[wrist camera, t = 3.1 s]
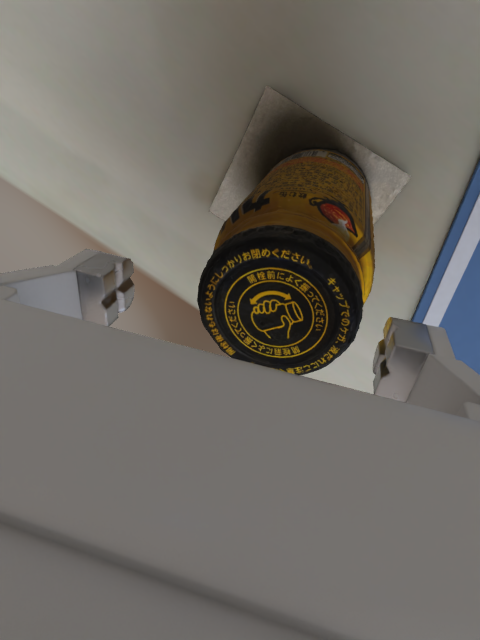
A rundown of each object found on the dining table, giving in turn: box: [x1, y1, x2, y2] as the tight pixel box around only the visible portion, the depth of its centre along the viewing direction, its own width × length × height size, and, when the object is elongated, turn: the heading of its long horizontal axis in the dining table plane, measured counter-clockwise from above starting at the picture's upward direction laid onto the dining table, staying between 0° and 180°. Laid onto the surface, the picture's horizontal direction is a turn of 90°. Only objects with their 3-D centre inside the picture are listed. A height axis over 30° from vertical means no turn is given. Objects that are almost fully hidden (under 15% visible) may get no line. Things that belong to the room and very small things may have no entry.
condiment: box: [197, 86, 411, 375], centre depth 17 cm, size 7×8×12 cm
